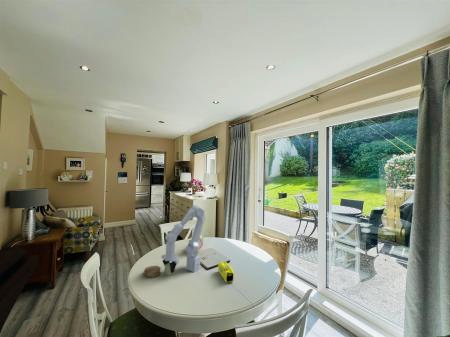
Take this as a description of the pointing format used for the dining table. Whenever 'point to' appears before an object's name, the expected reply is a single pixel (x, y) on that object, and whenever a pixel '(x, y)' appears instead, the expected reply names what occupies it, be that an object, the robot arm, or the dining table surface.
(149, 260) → the dining table surface
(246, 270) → the dining table surface
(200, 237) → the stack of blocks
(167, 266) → the sage block
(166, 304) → the dining table surface
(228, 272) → the yellow toy chassis
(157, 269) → the walnut plinth
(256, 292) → the dining table surface
